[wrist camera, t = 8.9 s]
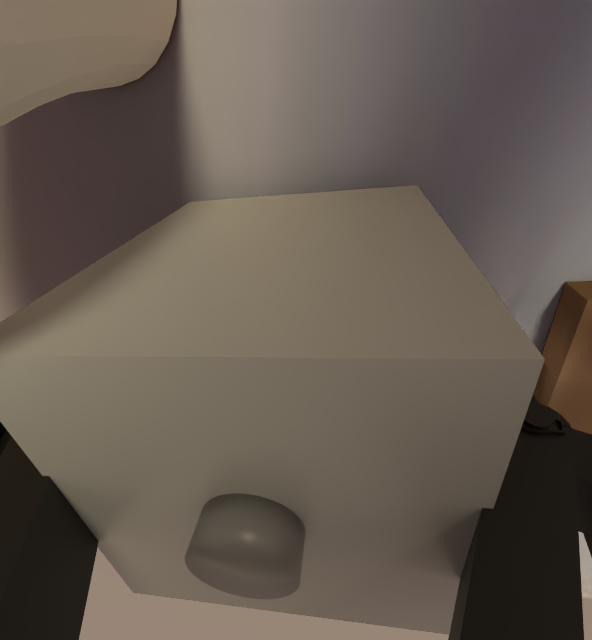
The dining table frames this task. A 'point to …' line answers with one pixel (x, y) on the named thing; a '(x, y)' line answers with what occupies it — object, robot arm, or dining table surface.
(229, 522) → the block
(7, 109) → the cup
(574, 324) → the board
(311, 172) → the dining table surface
